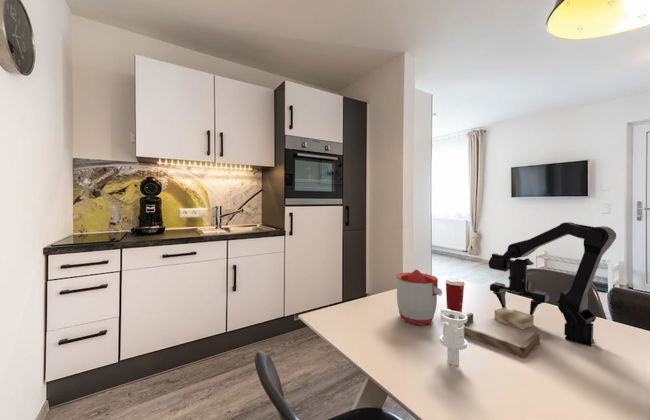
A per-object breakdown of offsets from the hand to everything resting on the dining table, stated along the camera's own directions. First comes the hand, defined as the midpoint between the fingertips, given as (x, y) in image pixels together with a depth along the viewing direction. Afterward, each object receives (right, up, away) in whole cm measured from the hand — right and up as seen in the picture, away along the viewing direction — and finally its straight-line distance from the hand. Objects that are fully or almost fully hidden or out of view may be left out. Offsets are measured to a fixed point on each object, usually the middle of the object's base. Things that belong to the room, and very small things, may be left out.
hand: (517, 313), depth 110 cm
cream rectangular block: (-3, -3, -3) cm, 5 cm away
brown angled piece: (-18, -3, -14) cm, 23 cm away
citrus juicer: (-40, -3, -1) cm, 40 cm away
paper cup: (-22, -3, +7) cm, 23 cm away
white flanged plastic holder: (-40, -3, -30) cm, 50 cm away
